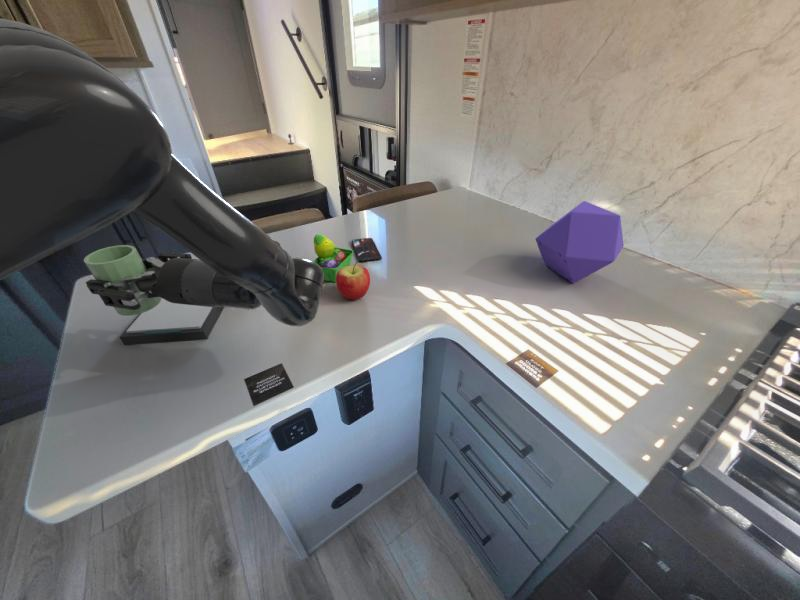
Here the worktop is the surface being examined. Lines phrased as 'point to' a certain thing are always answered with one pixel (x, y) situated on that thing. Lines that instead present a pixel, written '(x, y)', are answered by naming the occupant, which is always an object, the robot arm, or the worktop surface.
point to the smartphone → (366, 249)
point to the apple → (353, 281)
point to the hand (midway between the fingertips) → (110, 274)
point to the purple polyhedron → (581, 241)
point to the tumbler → (120, 271)
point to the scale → (172, 324)
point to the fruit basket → (330, 257)
